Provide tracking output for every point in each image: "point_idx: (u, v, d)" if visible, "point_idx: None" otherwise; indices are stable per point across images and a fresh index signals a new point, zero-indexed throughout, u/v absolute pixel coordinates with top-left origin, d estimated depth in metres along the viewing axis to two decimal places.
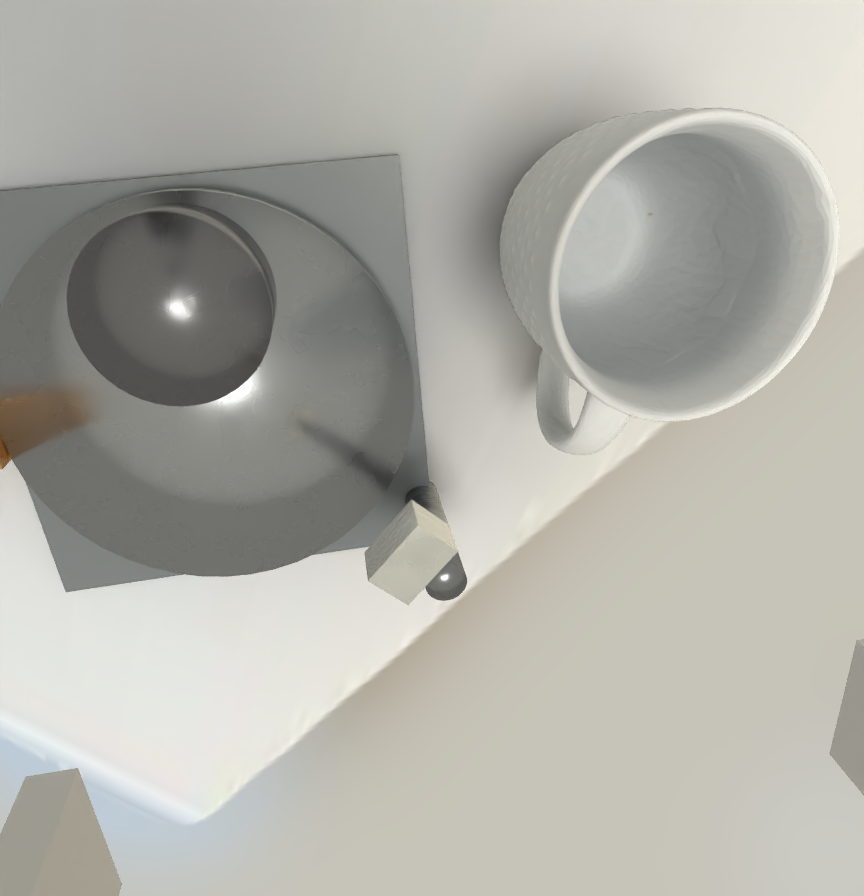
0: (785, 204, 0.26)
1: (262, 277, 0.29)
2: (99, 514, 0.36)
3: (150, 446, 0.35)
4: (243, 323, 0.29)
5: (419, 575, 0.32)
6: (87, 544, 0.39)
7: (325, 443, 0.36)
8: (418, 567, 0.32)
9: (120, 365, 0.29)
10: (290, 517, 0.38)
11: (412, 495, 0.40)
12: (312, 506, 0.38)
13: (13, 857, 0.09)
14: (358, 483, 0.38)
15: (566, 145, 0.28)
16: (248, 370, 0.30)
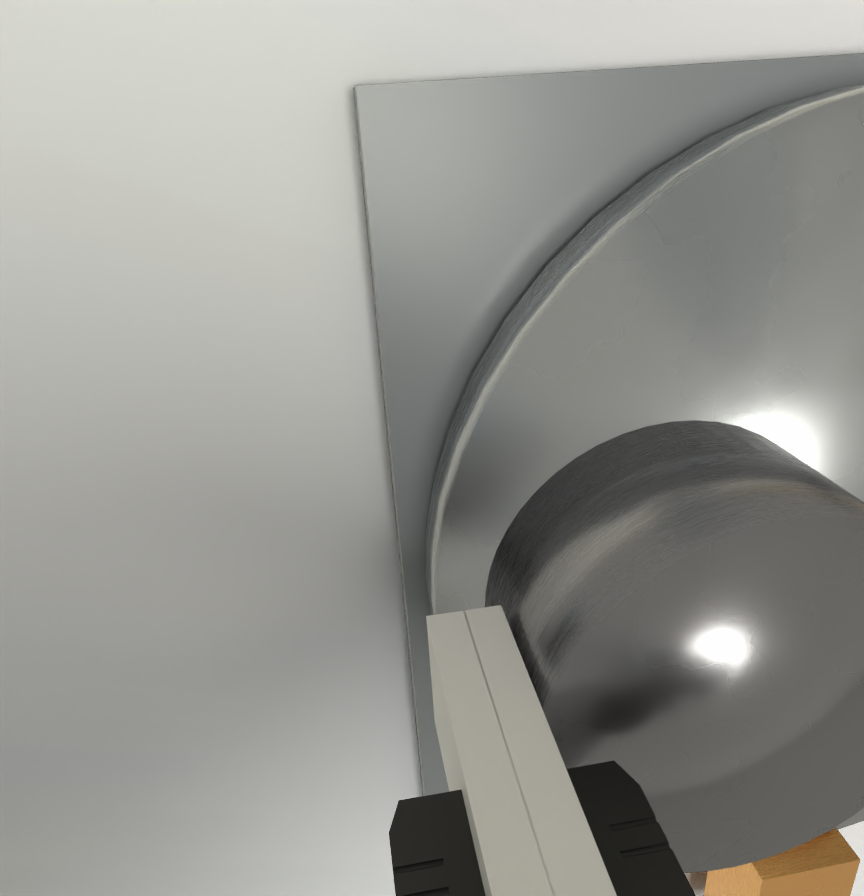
0: None
1: (722, 536, 0.11)
2: None
3: None
4: (822, 582, 0.11)
5: None
6: None
7: None
8: None
9: (832, 798, 0.14)
10: None
11: None
12: None
13: (456, 662, 0.12)
14: None
15: None
16: None
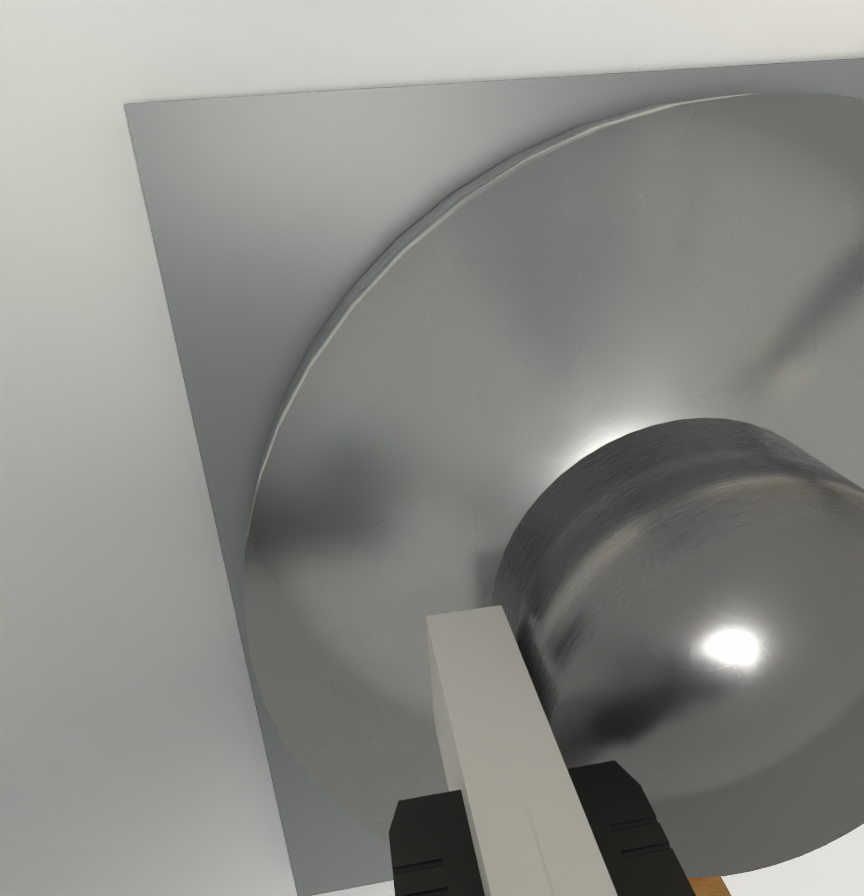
0: None
1: (731, 537, 0.10)
2: None
3: None
4: (836, 581, 0.11)
5: None
6: None
7: (858, 356, 0.14)
8: None
9: (850, 801, 0.13)
10: None
11: None
12: None
13: (456, 662, 0.12)
14: None
15: None
16: None
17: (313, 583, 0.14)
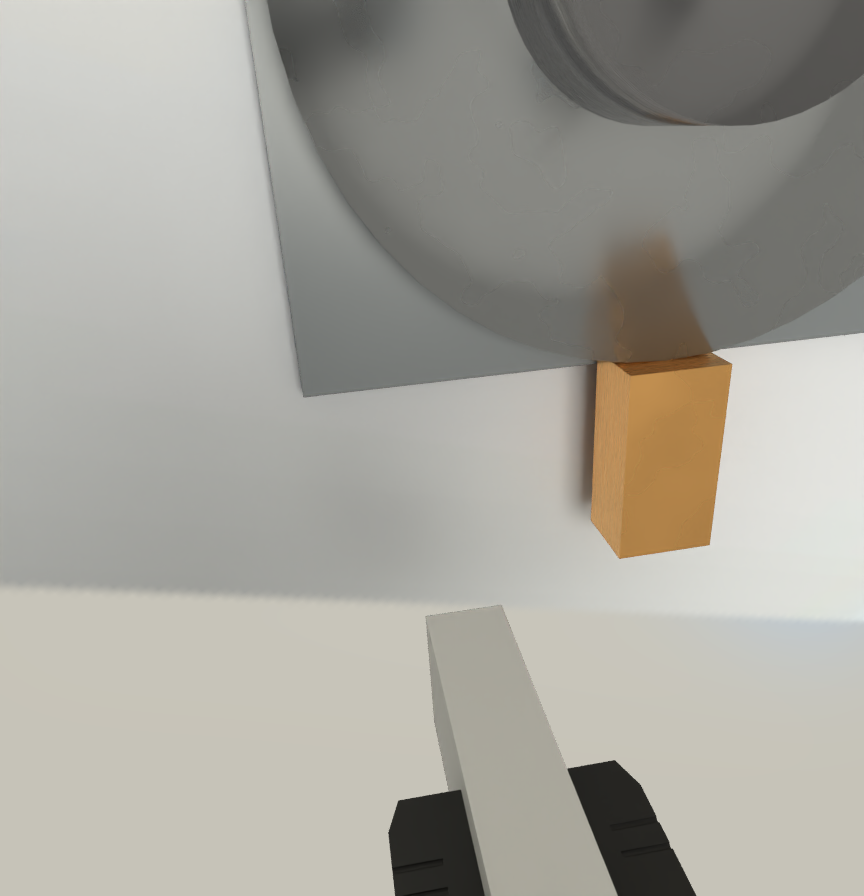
0: None
1: None
2: (847, 228, 0.20)
3: None
4: None
5: None
6: None
7: None
8: None
9: (850, 33, 0.14)
10: None
11: None
12: None
13: (456, 662, 0.12)
14: None
15: None
16: None
17: None
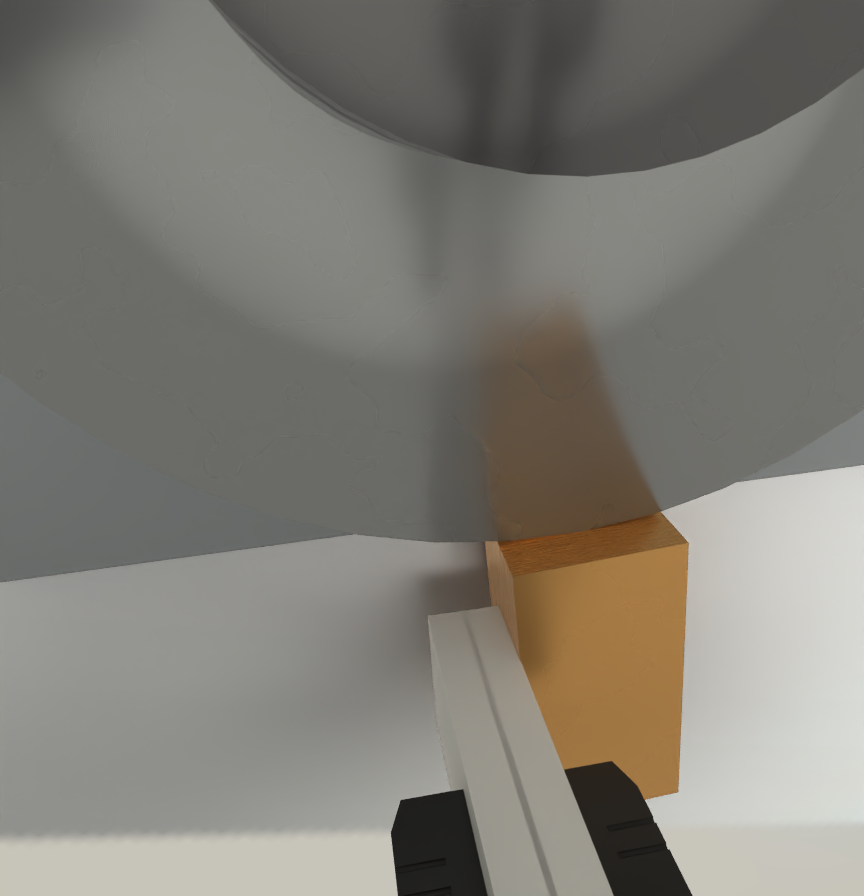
0: None
1: None
2: None
3: None
4: None
5: None
6: None
7: None
8: None
9: None
10: None
11: None
12: None
13: (457, 662, 0.12)
14: None
15: None
16: None
17: None
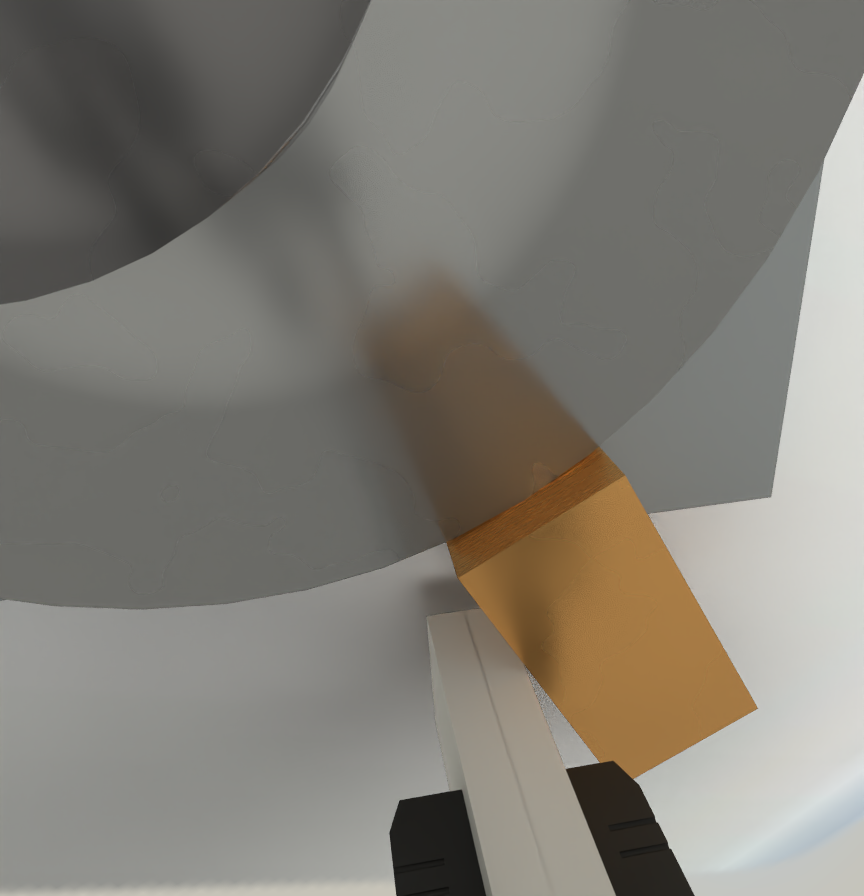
0: None
1: None
2: (725, 137, 0.10)
3: (390, 45, 0.09)
4: None
5: None
6: (647, 425, 0.13)
7: None
8: None
9: None
10: None
11: None
12: None
13: (456, 662, 0.12)
14: None
15: None
16: None
17: None
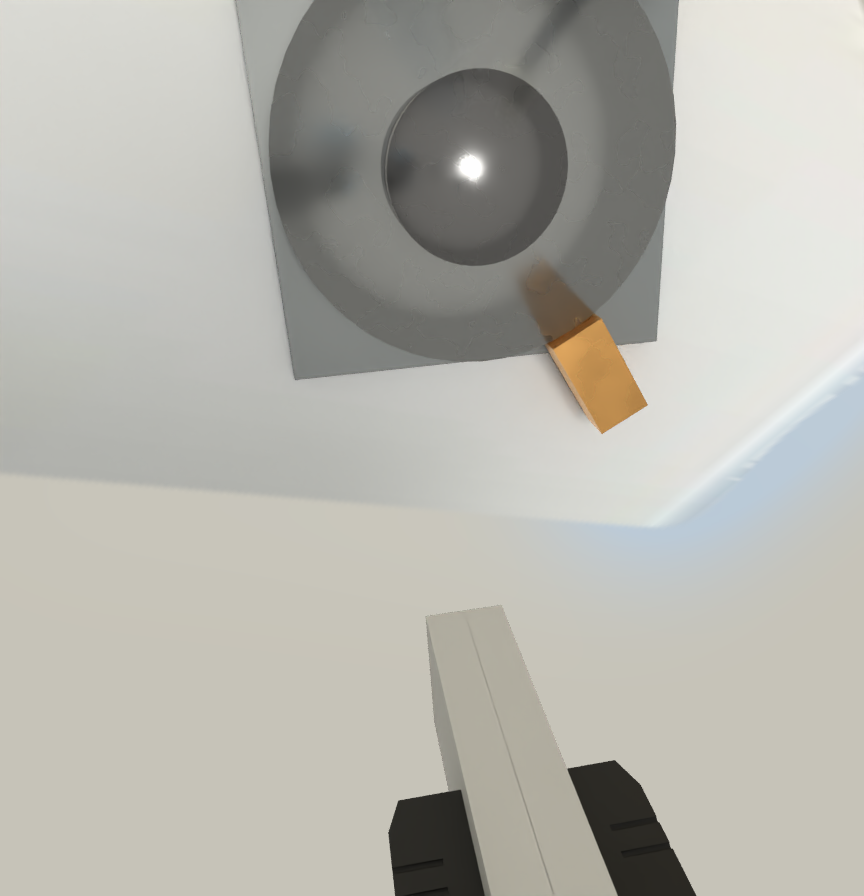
0: None
1: (408, 106, 0.29)
2: (627, 224, 0.36)
3: None
4: (458, 104, 0.29)
5: None
6: (611, 312, 0.40)
7: (473, 24, 0.32)
8: None
9: (543, 197, 0.31)
10: (574, 23, 0.32)
11: None
12: (553, 2, 0.32)
13: (456, 662, 0.12)
14: None
15: None
16: (500, 77, 0.29)
17: (317, 235, 0.35)
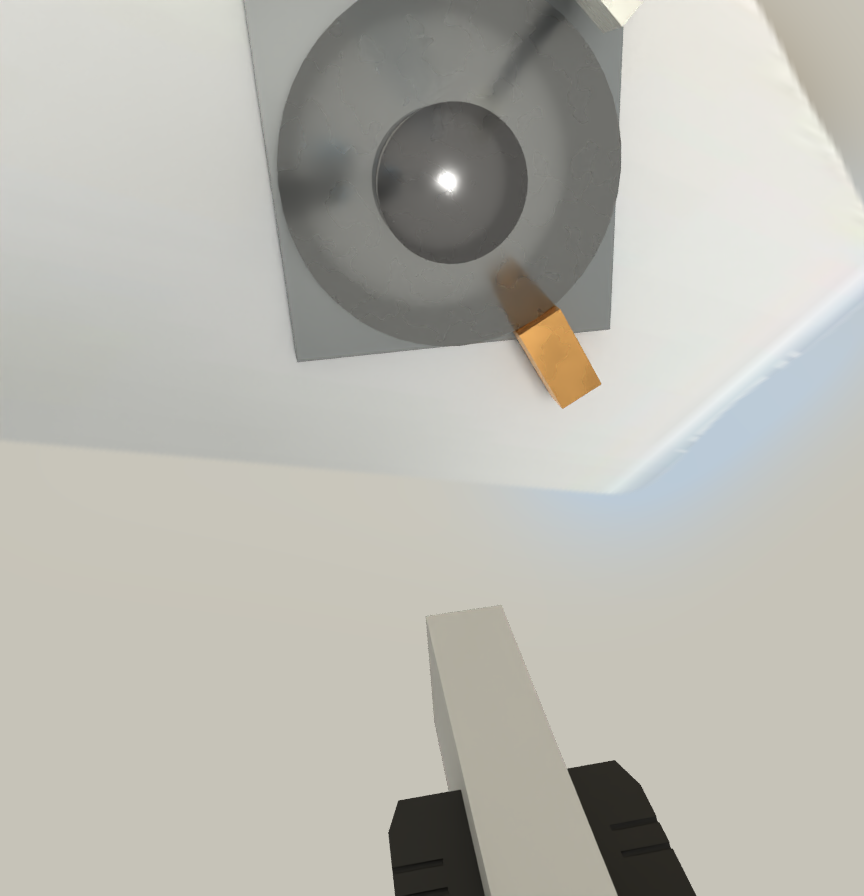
0: None
1: (395, 132, 0.36)
2: (581, 228, 0.43)
3: None
4: (436, 130, 0.36)
5: None
6: (570, 304, 0.47)
7: (449, 61, 0.38)
8: None
9: (507, 206, 0.38)
10: (534, 61, 0.39)
11: None
12: (516, 44, 0.38)
13: (456, 661, 0.12)
14: (476, 7, 0.37)
15: None
16: (471, 109, 0.36)
17: (317, 237, 0.41)
